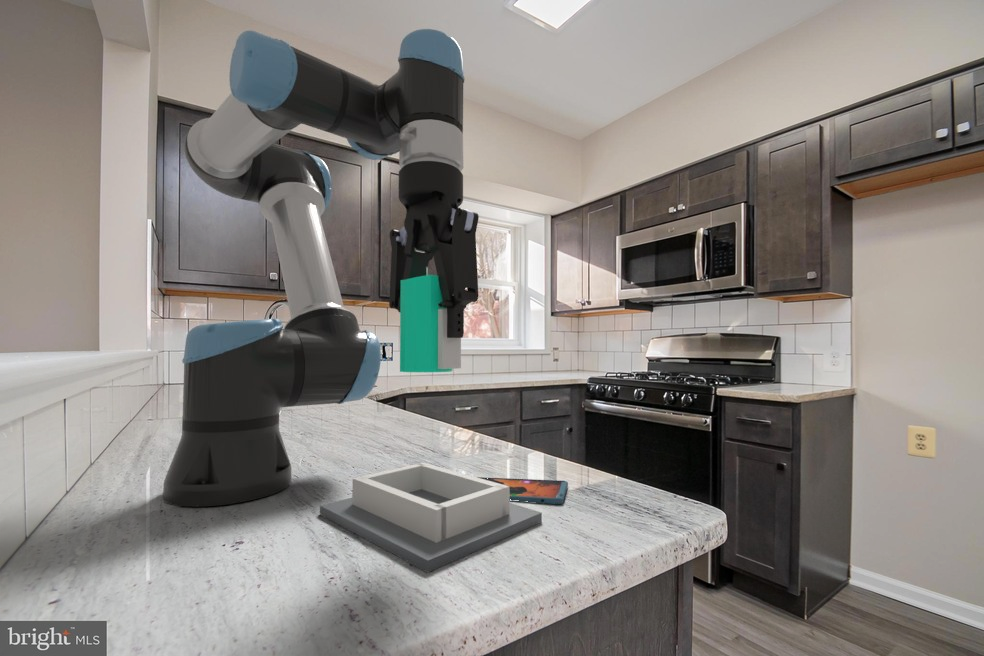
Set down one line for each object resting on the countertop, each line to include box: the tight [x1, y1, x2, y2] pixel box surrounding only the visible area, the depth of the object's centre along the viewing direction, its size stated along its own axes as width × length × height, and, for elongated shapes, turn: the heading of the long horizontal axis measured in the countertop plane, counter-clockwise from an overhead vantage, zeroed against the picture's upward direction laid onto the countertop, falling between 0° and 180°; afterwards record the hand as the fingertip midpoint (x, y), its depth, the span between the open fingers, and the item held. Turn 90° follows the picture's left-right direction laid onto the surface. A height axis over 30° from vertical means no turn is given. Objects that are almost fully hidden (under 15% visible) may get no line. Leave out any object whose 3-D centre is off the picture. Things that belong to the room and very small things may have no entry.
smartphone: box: [477, 476, 569, 505], centre depth 62 cm, size 8×1×15 cm
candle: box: [399, 266, 453, 373], centre depth 52 cm, size 6×6×12 cm
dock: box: [319, 462, 543, 573], centre depth 52 cm, size 20×16×4 cm
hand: (430, 367), depth 52 cm, fingers closed on candle, 6 cm apart
